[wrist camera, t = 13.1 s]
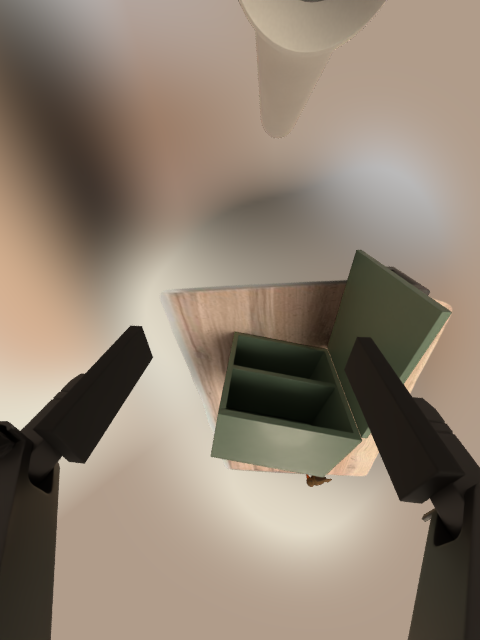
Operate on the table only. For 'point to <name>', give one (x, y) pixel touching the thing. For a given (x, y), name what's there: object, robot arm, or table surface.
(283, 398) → the cupboard
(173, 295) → the table surface
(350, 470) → the table surface
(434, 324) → the door
